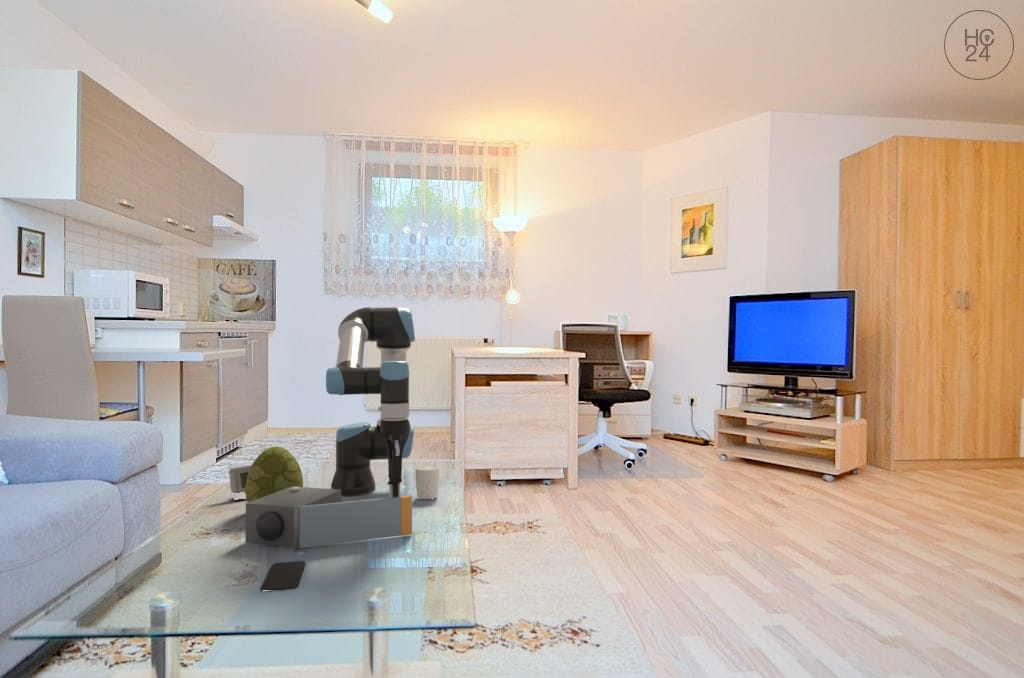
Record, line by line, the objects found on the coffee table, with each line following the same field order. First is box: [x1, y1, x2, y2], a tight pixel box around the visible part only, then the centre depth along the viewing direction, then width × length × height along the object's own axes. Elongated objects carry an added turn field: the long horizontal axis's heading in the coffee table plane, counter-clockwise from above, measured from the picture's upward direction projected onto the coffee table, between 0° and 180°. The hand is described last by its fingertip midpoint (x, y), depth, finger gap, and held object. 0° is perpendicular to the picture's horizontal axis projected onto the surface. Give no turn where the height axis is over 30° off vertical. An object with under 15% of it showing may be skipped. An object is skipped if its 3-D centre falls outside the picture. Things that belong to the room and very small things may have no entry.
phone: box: [260, 560, 306, 591], centre depth 125 cm, size 7×1×15 cm
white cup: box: [414, 464, 440, 500], centre depth 192 cm, size 8×8×10 cm
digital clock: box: [228, 464, 252, 493], centre depth 195 cm, size 16×9×11 cm, turn 122°
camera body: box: [245, 486, 342, 548], centre depth 154 cm, size 21×16×11 cm
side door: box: [293, 495, 413, 550], centre depth 147 cm, size 29×1×10 cm, turn 112°
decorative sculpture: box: [245, 445, 304, 503], centre depth 175 cm, size 16×16×20 cm
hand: (394, 507), depth 153 cm, fingers closed
